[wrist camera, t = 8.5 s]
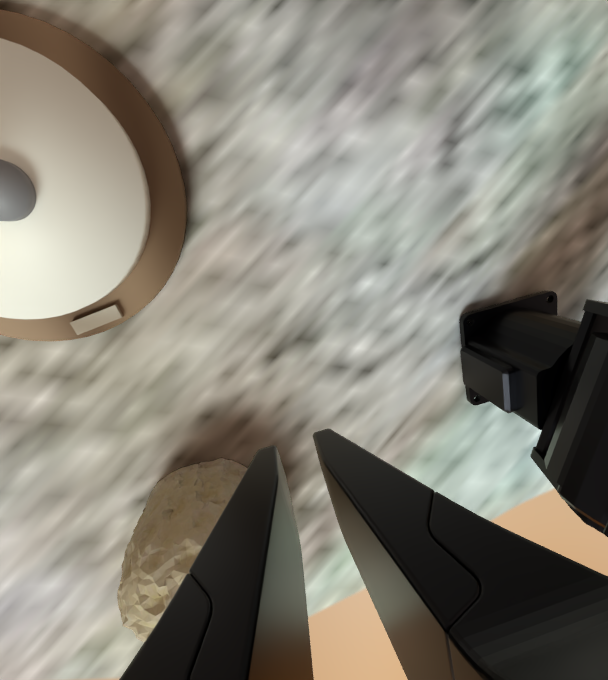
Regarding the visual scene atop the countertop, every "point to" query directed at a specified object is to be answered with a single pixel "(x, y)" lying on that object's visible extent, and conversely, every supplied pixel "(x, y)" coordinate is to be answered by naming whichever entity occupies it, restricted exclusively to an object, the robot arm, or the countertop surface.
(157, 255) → the base
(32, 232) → the dial
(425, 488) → the robot arm
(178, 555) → the sponge
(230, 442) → the countertop surface
